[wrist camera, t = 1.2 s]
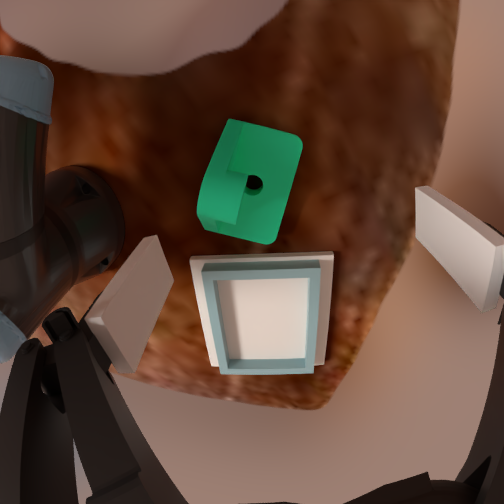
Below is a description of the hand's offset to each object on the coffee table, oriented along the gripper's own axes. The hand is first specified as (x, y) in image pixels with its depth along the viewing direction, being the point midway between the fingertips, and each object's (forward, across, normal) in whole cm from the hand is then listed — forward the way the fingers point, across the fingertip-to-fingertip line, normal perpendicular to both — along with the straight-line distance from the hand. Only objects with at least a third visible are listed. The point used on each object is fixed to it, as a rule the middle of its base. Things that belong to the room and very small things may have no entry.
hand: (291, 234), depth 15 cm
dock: (+19, -5, -20) cm, 28 cm away
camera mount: (+20, -3, -2) cm, 20 cm away
